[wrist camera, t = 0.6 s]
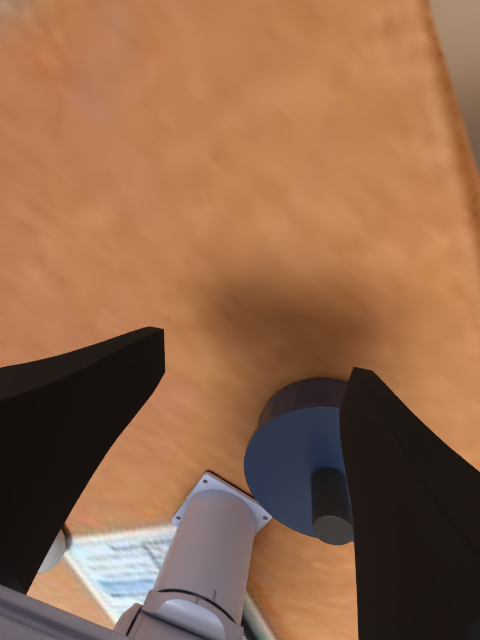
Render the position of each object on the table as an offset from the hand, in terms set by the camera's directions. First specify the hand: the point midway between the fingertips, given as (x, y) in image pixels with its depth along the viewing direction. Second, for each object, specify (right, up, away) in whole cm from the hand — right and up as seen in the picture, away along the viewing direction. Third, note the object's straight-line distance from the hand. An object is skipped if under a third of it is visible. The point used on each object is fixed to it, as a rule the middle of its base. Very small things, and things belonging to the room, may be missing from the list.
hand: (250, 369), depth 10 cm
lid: (+6, -9, +10) cm, 15 cm away
